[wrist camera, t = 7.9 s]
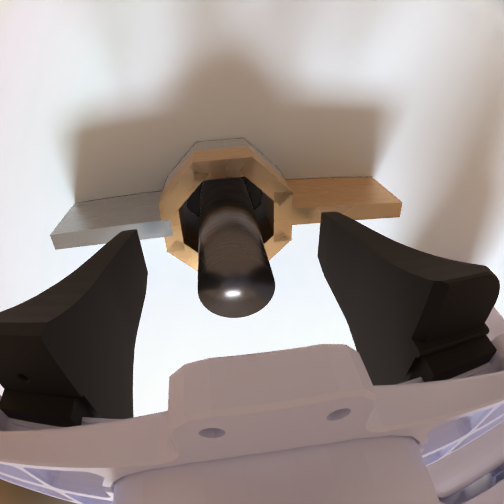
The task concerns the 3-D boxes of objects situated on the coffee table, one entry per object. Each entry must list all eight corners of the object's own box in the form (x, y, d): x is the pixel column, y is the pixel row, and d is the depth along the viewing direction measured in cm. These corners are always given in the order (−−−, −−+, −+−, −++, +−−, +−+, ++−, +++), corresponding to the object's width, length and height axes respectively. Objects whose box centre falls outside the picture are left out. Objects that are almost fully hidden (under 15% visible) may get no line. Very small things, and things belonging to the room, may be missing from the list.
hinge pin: (245, 167, 16) (275, 254, 9) (247, 209, 17) (274, 313, 11) (198, 172, 16) (192, 262, 9) (203, 214, 17) (203, 320, 10)
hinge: (375, 136, 16) (409, 154, 13) (364, 225, 19) (390, 257, 16) (64, 163, 14) (35, 187, 11) (89, 252, 17) (71, 289, 14)
